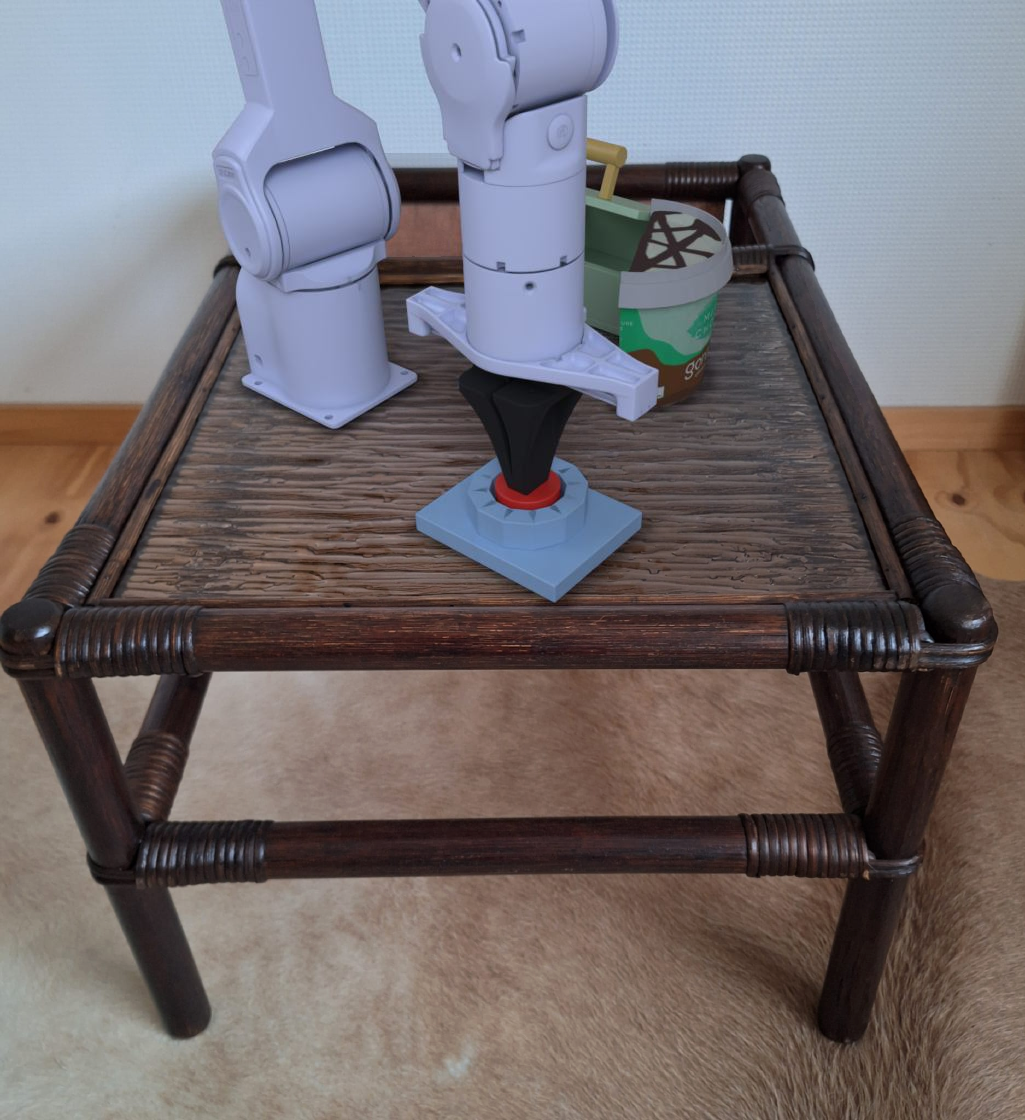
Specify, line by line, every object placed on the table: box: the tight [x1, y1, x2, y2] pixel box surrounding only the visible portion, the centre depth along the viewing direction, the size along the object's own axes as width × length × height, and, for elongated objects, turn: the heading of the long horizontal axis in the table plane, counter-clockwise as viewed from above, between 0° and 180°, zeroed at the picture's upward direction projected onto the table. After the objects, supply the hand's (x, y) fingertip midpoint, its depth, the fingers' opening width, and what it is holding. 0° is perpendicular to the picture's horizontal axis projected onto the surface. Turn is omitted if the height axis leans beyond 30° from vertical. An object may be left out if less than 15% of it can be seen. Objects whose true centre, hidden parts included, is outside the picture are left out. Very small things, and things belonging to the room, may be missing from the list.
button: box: [495, 470, 561, 511], centre depth 59 cm, size 4×4×2 cm
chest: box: [583, 205, 649, 336], centre depth 82 cm, size 10×12×5 cm
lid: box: [586, 136, 651, 222], centre depth 78 cm, size 11×12×4 cm
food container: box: [618, 198, 734, 409], centre depth 70 cm, size 12×6×10 cm, turn 165°
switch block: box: [414, 455, 643, 604], centre depth 60 cm, size 10×8×3 cm
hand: (528, 483), depth 59 cm, fingers closed, pressing on button
